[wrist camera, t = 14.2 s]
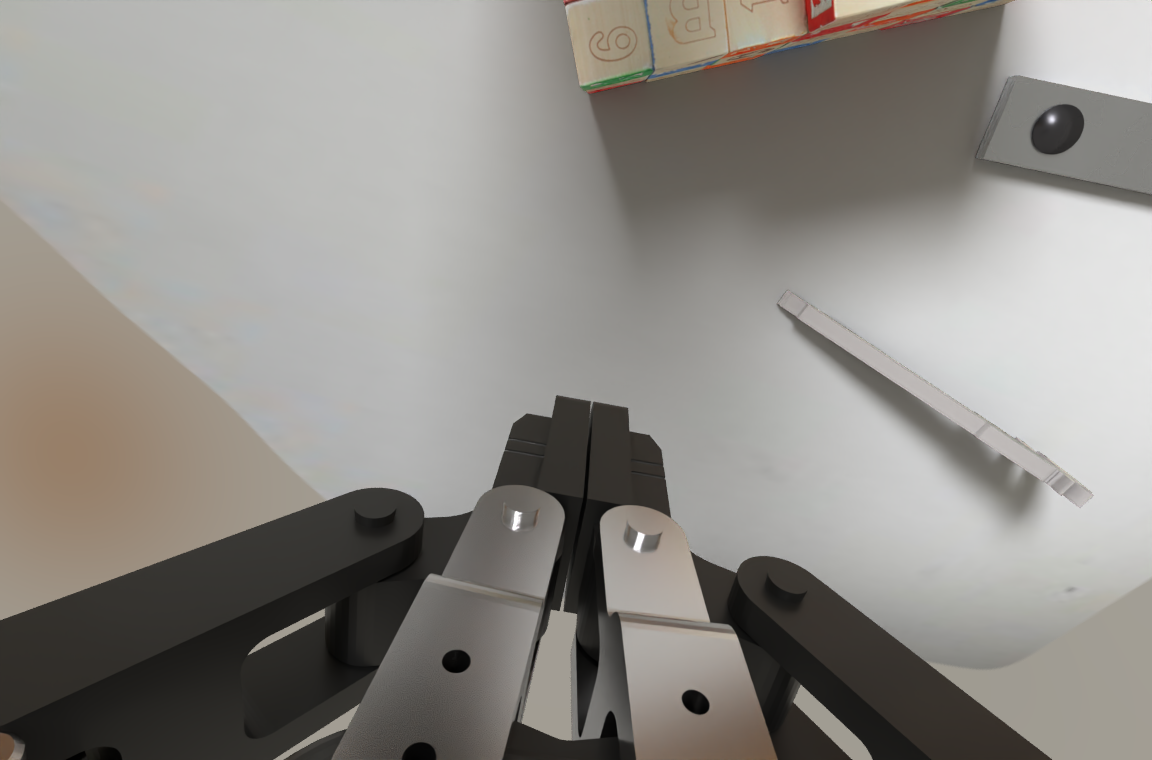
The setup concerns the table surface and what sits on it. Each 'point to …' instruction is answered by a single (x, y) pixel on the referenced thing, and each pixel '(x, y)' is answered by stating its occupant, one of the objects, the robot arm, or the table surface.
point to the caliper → (940, 401)
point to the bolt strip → (1072, 134)
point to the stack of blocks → (721, 31)
